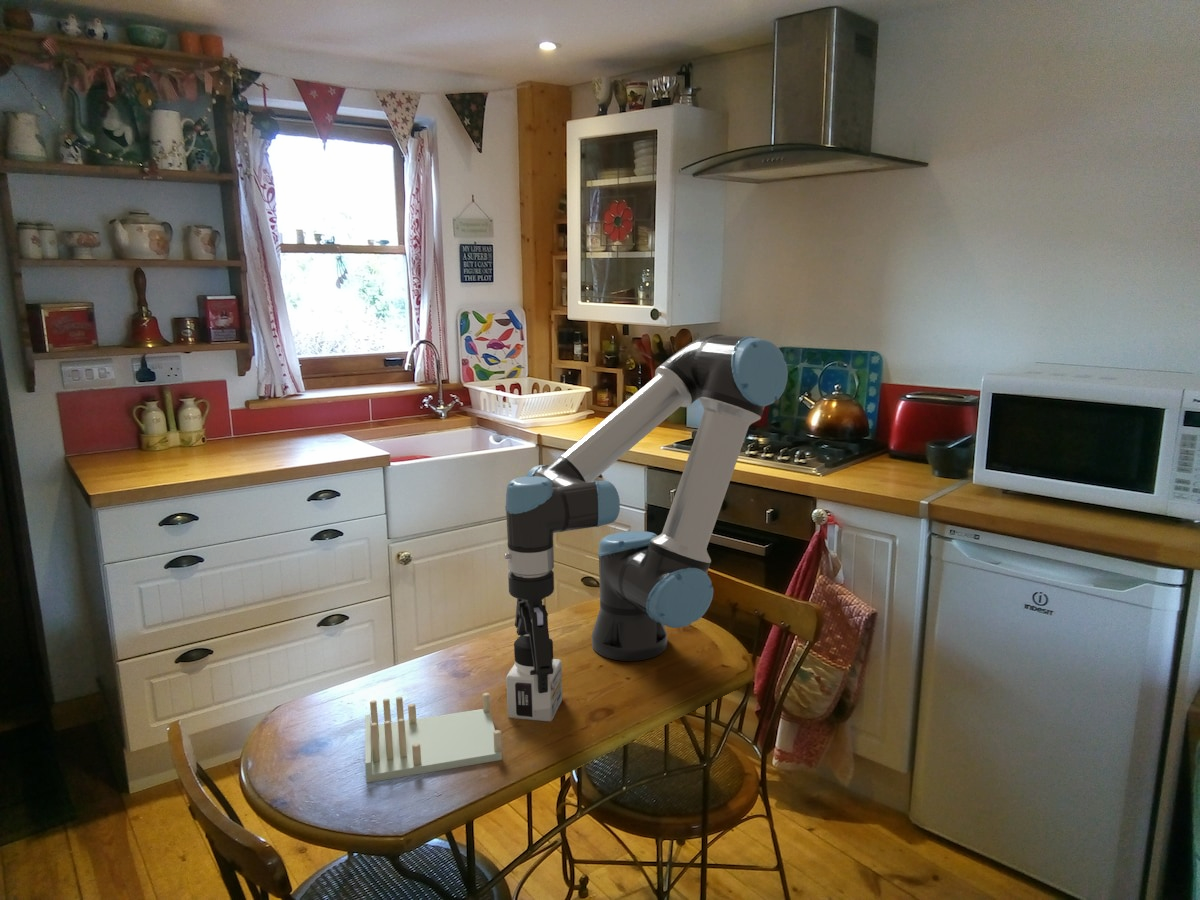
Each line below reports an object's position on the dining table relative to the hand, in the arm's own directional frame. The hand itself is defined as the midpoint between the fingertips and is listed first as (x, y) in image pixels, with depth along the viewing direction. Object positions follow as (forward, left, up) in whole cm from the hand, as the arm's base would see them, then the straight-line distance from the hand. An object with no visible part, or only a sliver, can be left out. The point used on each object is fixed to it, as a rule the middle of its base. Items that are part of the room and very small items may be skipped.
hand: (533, 688), depth 140 cm
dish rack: (+18, +6, -4) cm, 19 cm away
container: (0, 0, -4) cm, 4 cm away
